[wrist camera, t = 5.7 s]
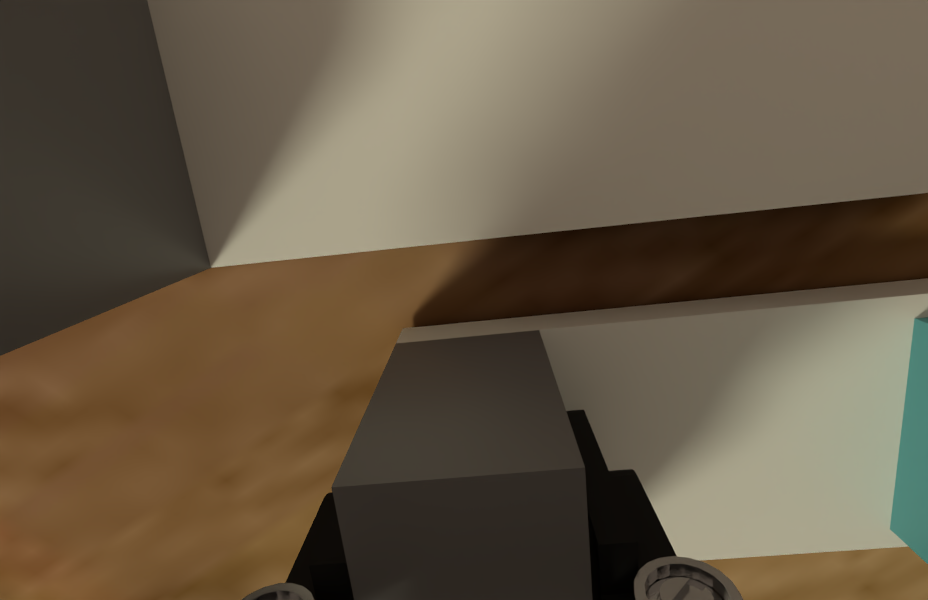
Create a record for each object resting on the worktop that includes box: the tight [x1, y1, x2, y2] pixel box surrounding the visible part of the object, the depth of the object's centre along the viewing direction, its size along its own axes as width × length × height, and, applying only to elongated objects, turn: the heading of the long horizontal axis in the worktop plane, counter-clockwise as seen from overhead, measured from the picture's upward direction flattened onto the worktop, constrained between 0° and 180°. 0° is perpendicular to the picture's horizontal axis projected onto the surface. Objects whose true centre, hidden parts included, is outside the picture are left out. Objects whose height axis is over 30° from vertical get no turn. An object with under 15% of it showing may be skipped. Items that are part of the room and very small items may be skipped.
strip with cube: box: [332, 278, 928, 600], centre depth 9 cm, size 18×6×6 cm, turn 96°
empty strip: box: [0, 0, 928, 356], centre depth 8 cm, size 18×6×6 cm, turn 96°
